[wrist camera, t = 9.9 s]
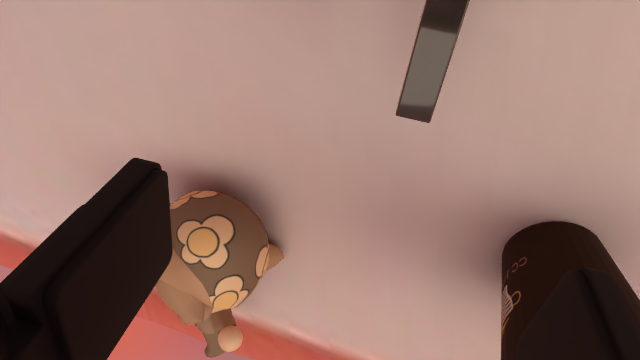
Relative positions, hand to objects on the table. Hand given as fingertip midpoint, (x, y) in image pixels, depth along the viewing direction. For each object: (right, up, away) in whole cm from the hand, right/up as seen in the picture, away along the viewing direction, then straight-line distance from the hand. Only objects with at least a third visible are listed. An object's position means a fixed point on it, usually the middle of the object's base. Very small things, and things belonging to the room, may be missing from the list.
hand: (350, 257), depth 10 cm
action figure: (-8, -3, +27) cm, 28 cm away
